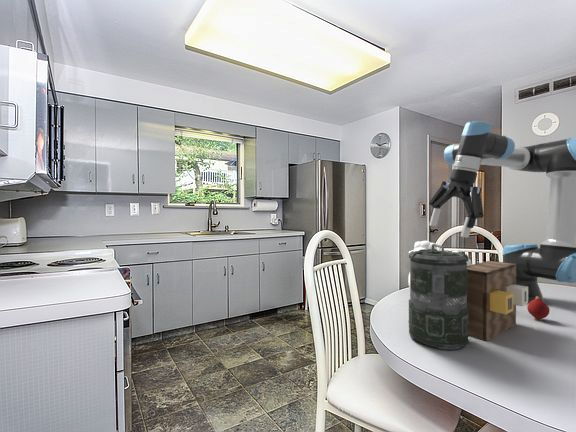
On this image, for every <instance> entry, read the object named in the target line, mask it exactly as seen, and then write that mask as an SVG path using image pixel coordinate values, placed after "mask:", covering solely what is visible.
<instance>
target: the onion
mask: <svg viewBox="0 0 576 432" xmlns="http://www.w3.org/2000/svg"><path fill="white" fill-rule="evenodd" d="M526 308H527V309H526V310H527V312H528V314H530V316H532V317H533V318H534V319H535V320H537V321H541V320H543V319H545V318H547V317H548V316H549V314H550V307H549V305H548V304H547V303H546V301H544V300H541V299H540V298H539V297H535V299H534V300H532V301H530V302H529V303H528V304H527V306H526Z"/></svg>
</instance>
